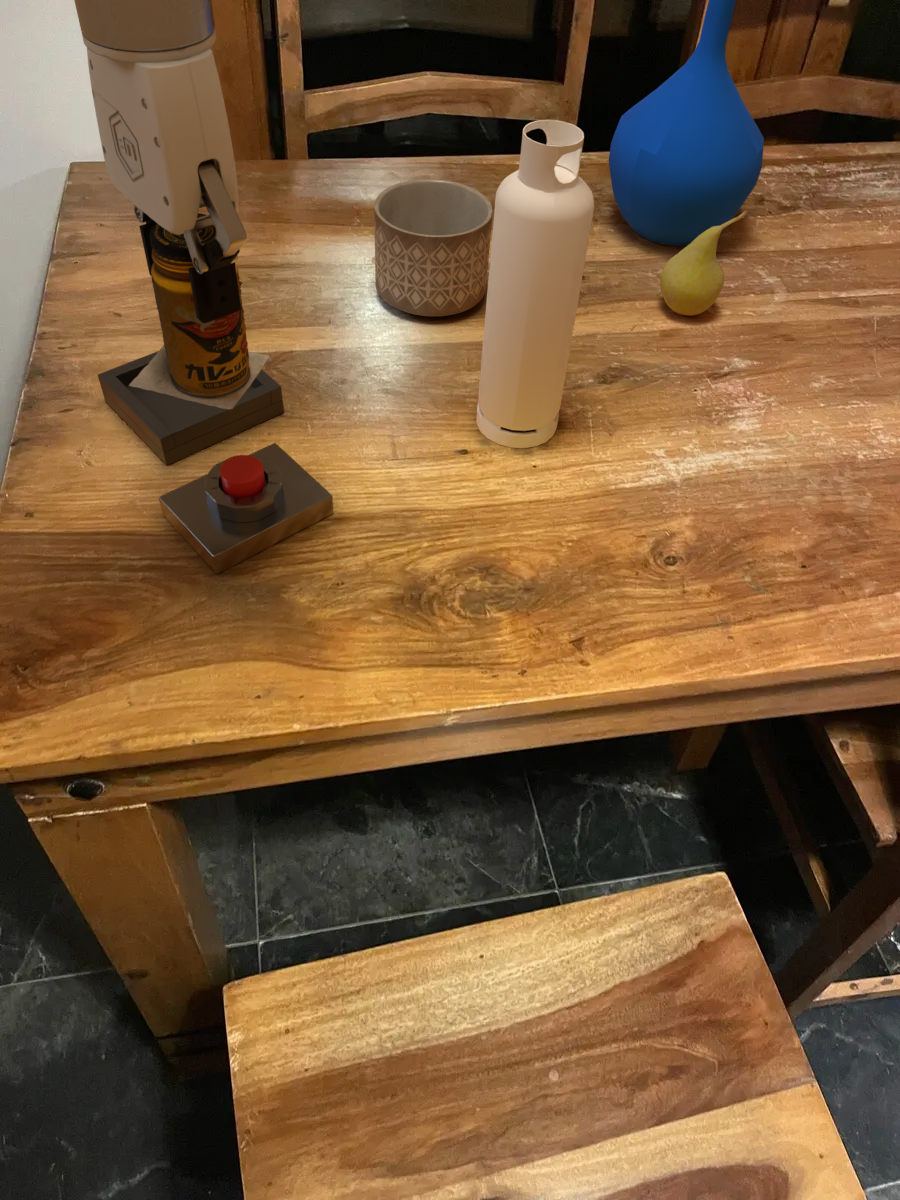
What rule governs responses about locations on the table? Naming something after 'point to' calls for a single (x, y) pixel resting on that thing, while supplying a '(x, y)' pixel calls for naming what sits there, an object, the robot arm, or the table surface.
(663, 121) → the vase
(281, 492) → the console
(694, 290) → the fruit
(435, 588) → the table surface
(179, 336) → the condiment
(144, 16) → the robot arm
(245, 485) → the button
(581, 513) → the table surface
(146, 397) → the tray
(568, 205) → the bottle
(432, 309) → the planter
